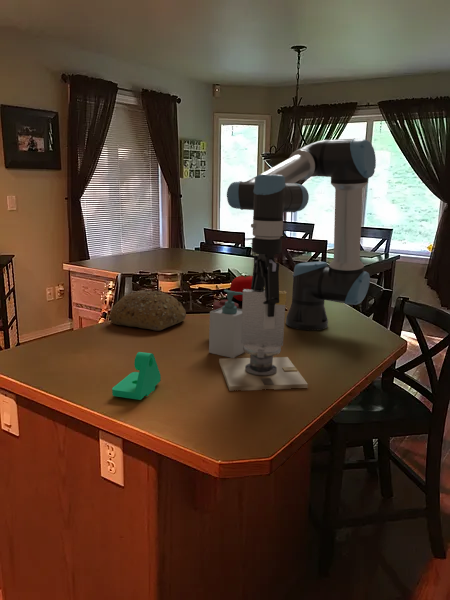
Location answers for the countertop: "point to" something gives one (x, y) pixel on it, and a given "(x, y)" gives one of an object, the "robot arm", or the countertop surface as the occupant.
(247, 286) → the tomato
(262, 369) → the metal spool
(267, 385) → the board
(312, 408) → the countertop surface
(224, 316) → the soap bottle
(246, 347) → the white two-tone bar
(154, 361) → the camera mount
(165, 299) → the bread
